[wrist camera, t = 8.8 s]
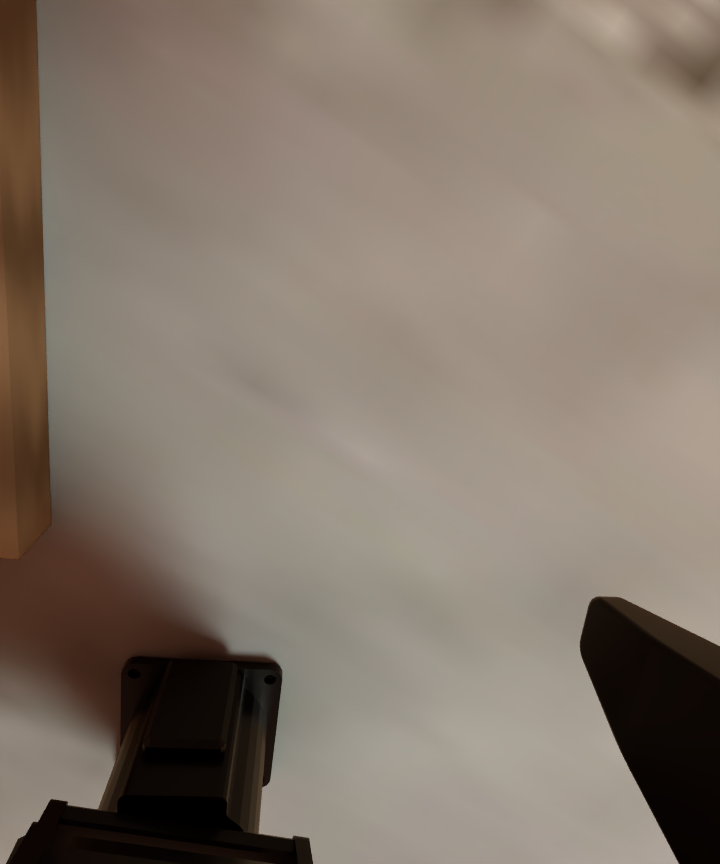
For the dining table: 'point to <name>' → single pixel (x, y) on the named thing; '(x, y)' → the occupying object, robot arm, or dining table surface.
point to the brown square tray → (21, 290)
